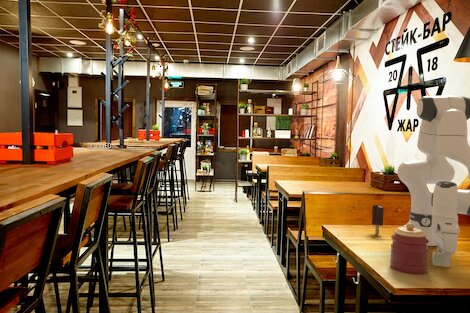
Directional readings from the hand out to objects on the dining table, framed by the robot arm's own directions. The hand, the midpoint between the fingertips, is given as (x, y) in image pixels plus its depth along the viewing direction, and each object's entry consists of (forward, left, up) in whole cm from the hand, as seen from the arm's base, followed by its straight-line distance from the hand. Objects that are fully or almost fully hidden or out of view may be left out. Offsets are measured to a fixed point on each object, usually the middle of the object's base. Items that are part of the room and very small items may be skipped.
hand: (443, 258), depth 151 cm
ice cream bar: (-41, -22, -3) cm, 47 cm away
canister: (+10, -14, -3) cm, 17 cm away
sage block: (0, -1, -3) cm, 3 cm away
